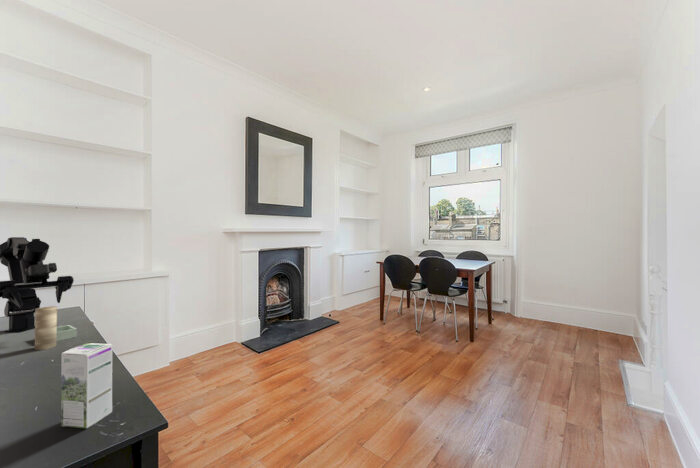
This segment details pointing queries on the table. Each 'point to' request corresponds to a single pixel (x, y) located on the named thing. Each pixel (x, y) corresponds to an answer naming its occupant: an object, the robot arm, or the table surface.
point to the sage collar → (66, 332)
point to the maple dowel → (45, 327)
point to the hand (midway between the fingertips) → (41, 304)
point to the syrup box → (86, 385)
